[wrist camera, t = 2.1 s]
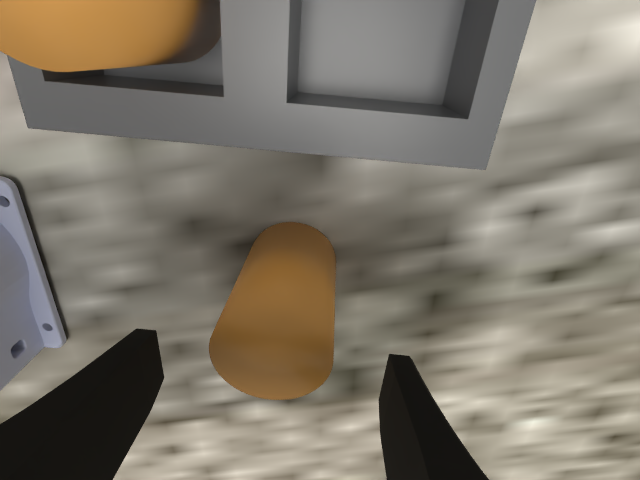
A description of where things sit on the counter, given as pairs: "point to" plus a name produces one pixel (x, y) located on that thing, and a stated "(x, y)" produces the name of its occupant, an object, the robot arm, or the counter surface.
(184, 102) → the housing
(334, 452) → the counter surface
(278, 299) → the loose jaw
